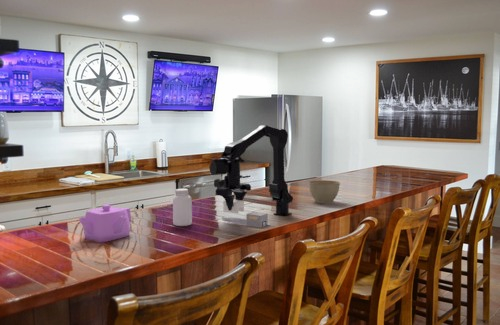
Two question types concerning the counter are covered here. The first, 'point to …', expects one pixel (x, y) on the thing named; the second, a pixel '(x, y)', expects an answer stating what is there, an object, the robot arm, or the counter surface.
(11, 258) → the counter surface
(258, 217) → the mounted module
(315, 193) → the planter bowl
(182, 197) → the pill bottle
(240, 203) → the block
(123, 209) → the teakettle
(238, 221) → the rail
